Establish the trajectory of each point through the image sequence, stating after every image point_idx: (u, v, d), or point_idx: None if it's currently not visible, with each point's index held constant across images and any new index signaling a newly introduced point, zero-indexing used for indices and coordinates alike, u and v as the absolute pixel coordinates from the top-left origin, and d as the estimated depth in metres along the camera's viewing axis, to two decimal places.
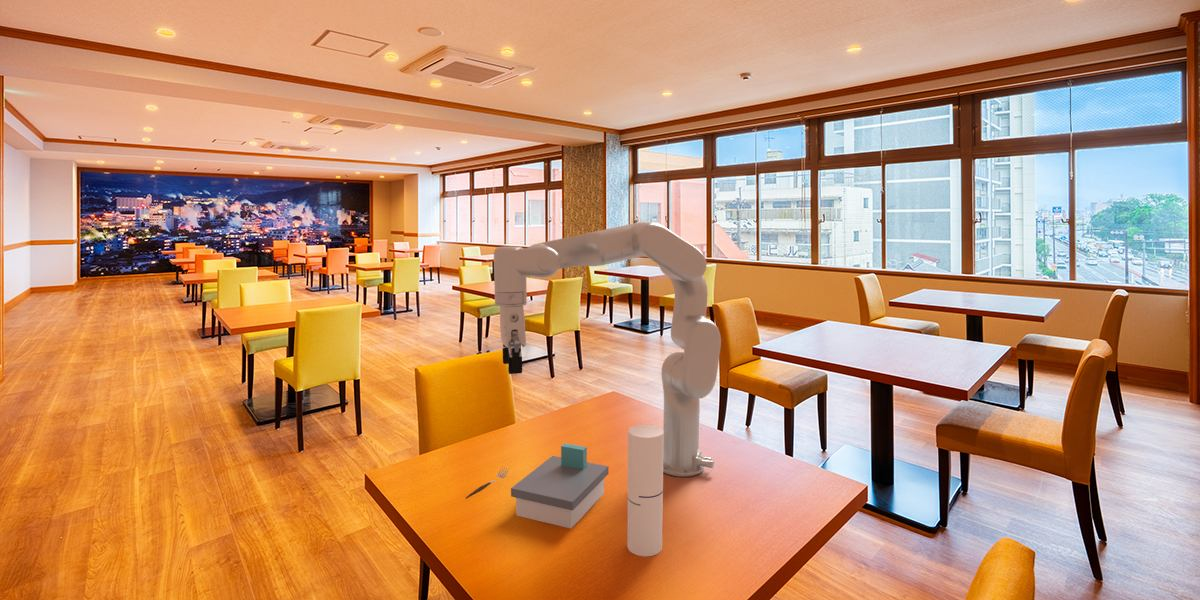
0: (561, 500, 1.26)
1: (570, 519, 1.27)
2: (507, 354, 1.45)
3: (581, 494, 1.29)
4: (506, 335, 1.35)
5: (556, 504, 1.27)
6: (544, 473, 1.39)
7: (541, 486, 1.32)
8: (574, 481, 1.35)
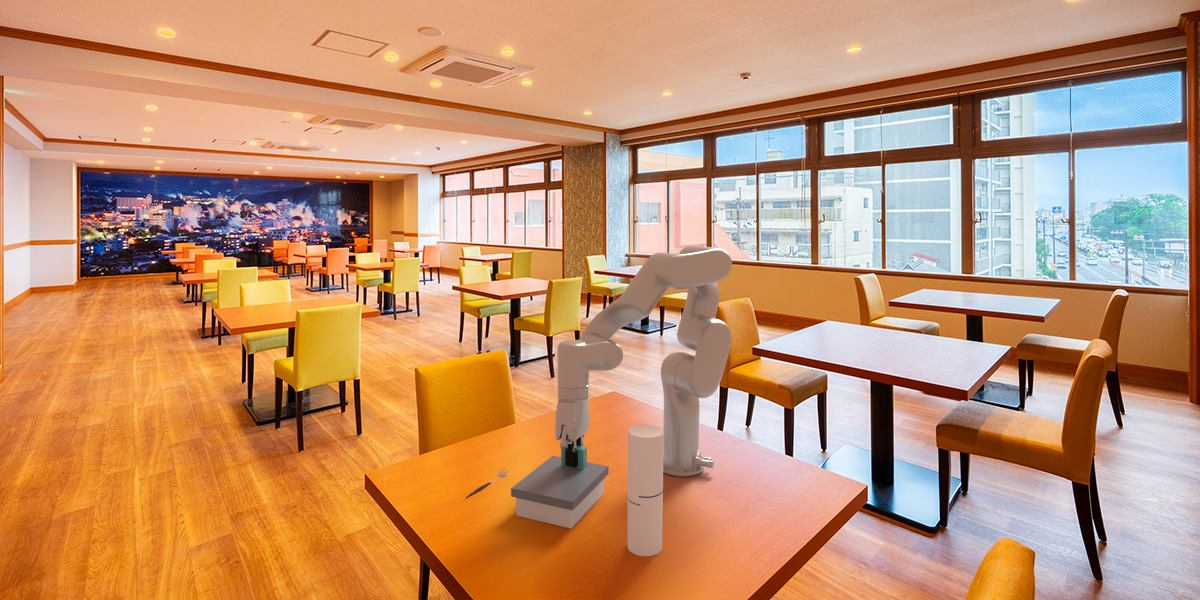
0: (561, 500, 1.26)
1: (570, 519, 1.27)
2: None
3: (581, 494, 1.29)
4: None
5: (556, 504, 1.27)
6: (544, 473, 1.39)
7: (541, 486, 1.32)
8: (574, 481, 1.35)
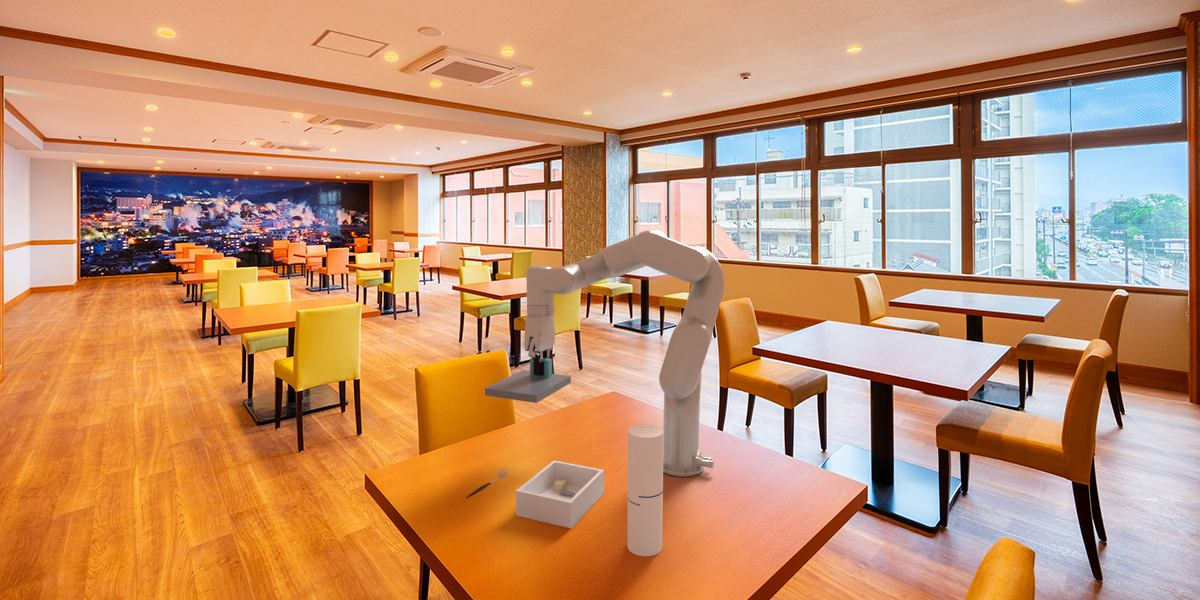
0: (527, 395, 1.48)
1: (570, 519, 1.27)
2: None
3: (544, 392, 1.51)
4: None
5: (522, 399, 1.49)
6: (514, 380, 1.61)
7: (510, 386, 1.54)
8: (539, 384, 1.57)
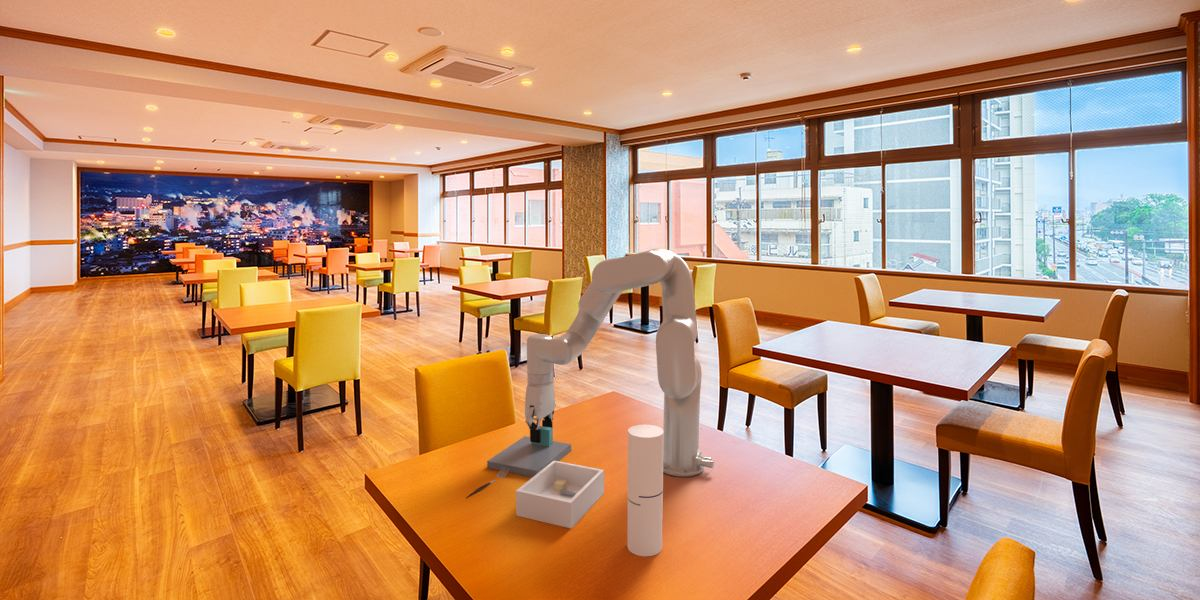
0: (528, 470, 1.52)
1: (570, 519, 1.27)
2: None
3: (545, 465, 1.55)
4: None
5: (524, 473, 1.53)
6: (516, 449, 1.65)
7: (512, 459, 1.58)
8: (540, 456, 1.61)
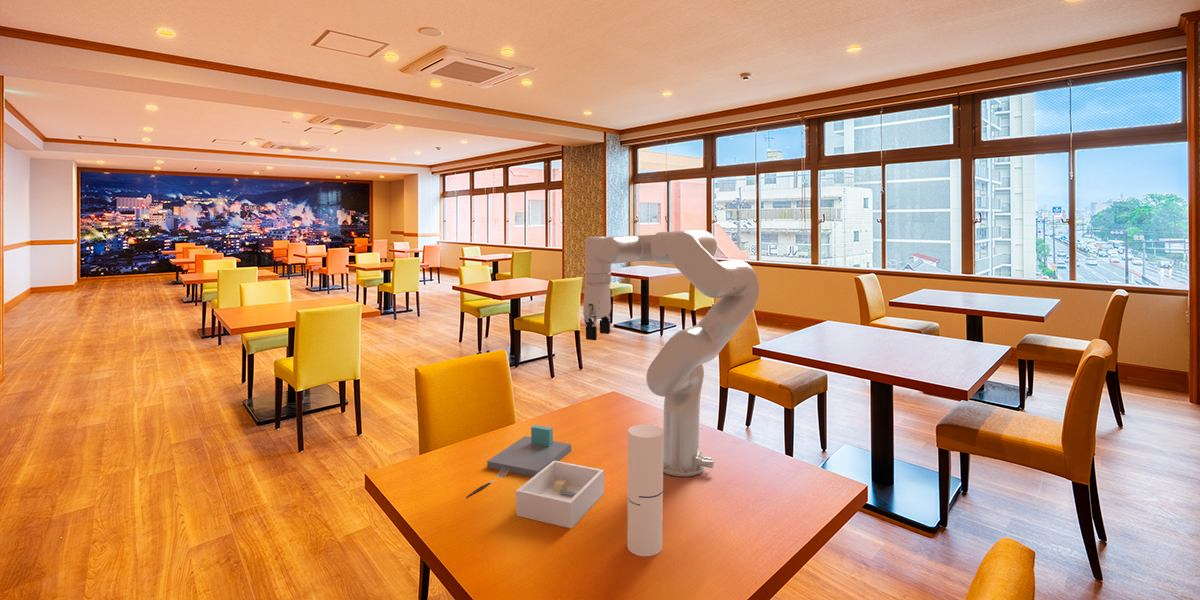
0: (528, 470, 1.52)
1: (570, 519, 1.27)
2: None
3: (545, 465, 1.55)
4: None
5: (524, 473, 1.53)
6: (516, 449, 1.65)
7: (512, 459, 1.58)
8: (540, 456, 1.61)
